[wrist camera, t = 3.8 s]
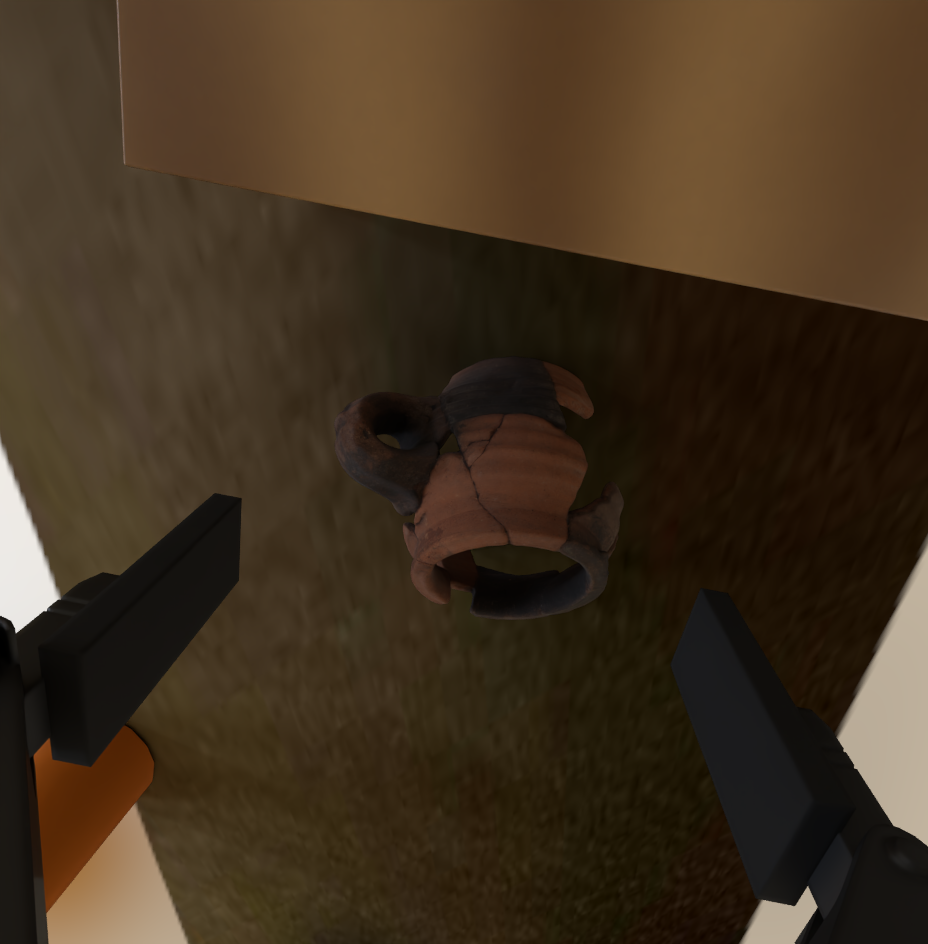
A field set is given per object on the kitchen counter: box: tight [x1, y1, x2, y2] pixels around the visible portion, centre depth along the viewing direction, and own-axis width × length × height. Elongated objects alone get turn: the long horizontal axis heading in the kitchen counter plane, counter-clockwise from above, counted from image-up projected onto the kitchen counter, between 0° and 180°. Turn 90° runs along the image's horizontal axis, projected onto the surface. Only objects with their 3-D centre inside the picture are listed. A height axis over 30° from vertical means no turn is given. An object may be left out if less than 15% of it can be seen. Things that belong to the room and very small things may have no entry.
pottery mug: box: [334, 356, 624, 620], centre depth 24 cm, size 12×10×8 cm
